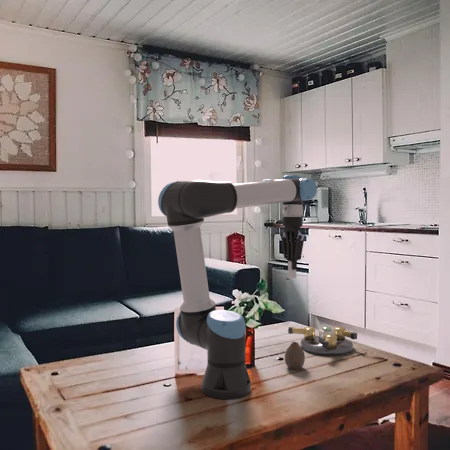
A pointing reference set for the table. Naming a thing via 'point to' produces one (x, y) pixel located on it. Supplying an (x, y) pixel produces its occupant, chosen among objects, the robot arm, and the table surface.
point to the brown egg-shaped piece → (294, 356)
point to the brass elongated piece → (344, 334)
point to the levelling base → (318, 349)
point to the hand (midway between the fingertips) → (292, 277)
